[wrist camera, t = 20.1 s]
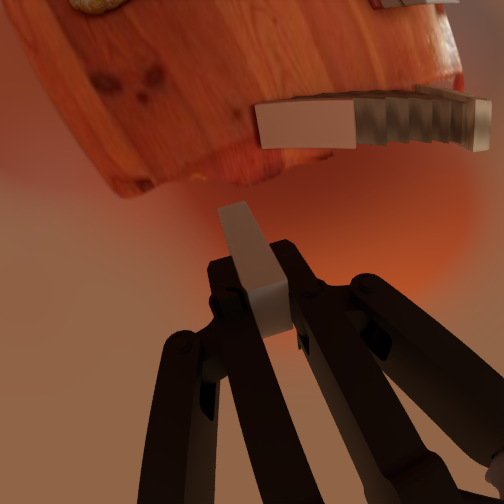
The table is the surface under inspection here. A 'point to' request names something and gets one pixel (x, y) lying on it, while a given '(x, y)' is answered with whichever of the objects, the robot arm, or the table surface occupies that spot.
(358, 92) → the domino
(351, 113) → the domino
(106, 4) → the fruit
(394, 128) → the domino
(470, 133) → the bookend block
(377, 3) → the ink box
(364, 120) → the domino
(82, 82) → the table surface
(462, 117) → the domino
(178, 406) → the robot arm
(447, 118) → the domino
